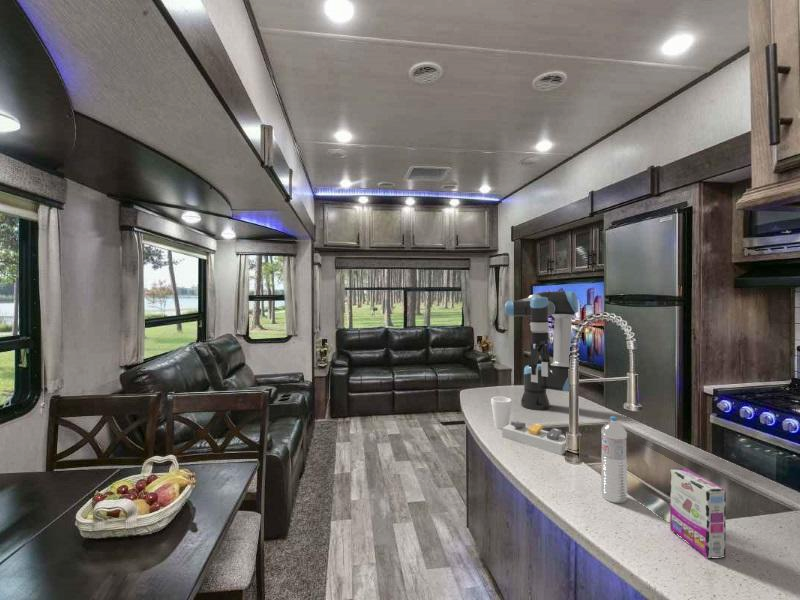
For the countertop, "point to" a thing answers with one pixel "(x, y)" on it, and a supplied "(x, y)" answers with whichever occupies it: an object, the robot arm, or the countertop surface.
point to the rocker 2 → (554, 433)
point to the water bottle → (614, 462)
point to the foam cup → (501, 411)
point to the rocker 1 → (518, 424)
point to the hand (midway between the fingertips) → (539, 379)
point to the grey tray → (536, 439)
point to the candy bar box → (698, 512)
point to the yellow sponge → (535, 428)
